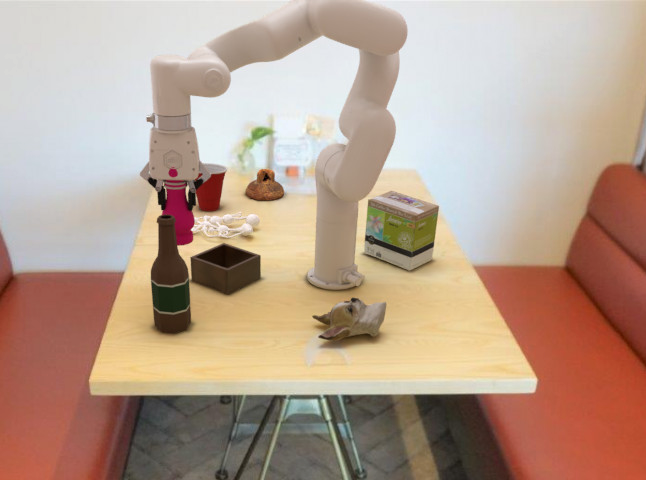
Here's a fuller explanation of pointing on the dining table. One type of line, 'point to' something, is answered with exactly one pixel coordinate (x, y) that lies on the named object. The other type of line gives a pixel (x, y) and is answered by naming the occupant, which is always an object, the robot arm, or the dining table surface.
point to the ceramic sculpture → (352, 319)
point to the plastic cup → (211, 188)
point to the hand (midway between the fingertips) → (177, 207)
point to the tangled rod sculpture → (223, 230)
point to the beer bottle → (170, 281)
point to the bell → (265, 186)
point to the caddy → (225, 268)
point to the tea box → (400, 229)
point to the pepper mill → (179, 208)
